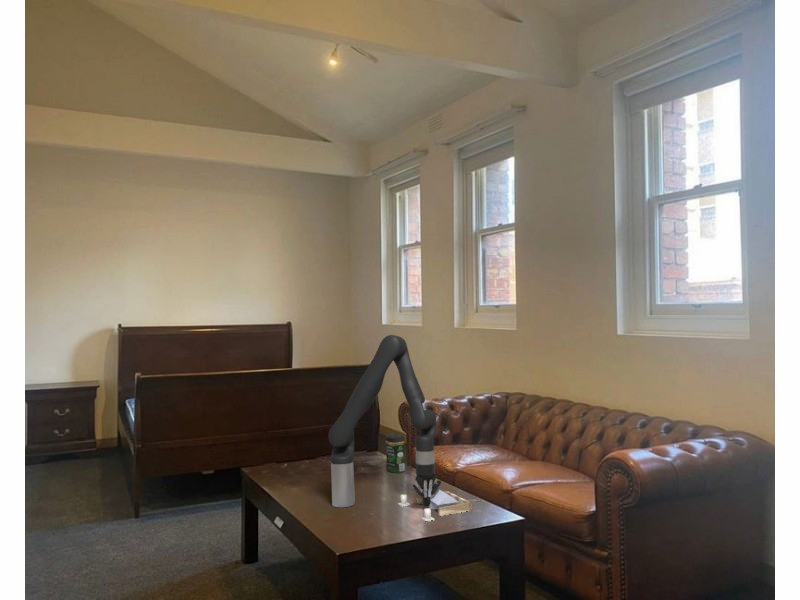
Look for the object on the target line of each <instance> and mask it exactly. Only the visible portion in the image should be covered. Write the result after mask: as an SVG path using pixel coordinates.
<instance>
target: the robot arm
mask: <svg viewBox="0 0 800 600" xmlns="http://www.w3.org/2000/svg"><path fill="white" fill-rule="evenodd" d="M409 353H410V352H409V349H408V345H407V342H406V340H405V339H404V338H403V337H401V336H398V335H395V334H390V335H386V336H385V337H384V338H383V339H382V340H381V342H380V343H379V345H378V347H377V350H376V353H375V354H374V356H373V358H372V361H371V362H370V363H369V365H368V367H367V368H366V369H365V372H364V373H363V375H362V376H361V378H360V379H359V381H358V383H357V385H356V386H355V388H354V389H353V392H352V394H351V396H350V397H349V399H348V401H347V403H346V405H345V407H344V409H343V411H342V412H341V414H340V416H339V417H338V418H337V420H336V421H335V422H334V423H333V425H332V426H331V428H329V431H328V436H327V437H328V441H329V444H330V445H332V450H331V451H332V452H331V455H330V472H331V475H330V476H331V477H330V478H331V506H333V507H336V508H347V507H352V506H354V505H355V504H356V502H355V500H356V499H355V469H354V468H355V467H354V456H355V430H354V429H355V428H356V426H357V424H358V422H359V421H360V420H361V418H362V417H363V416H364V414H365V413H366V412H367V411H368V410H369V408H370V407H371V406H372V404H373V403H374V401H375V400H376V398H377V396H378V395H379V393H380V392H381V389H382V386H383V384H384V383H383V382H384V379H385V375H386V373H387V371H388V369H389V368H390V365H391V364H392V363H393V362H394V364H395V367H396V368H397V370H398V374H399V380H400V385H401V389H402V392H403V394H404V397H405V399H406V402H407V404H408V410H409V417H410V421H411V423H412V425H413V427H414V428H415V429H417V430H420V431H419V434H418V435H417V436H416V437H415V475H416V476H415V479H414V480H415V481H414V482H412V483H410V488H411V489H413V491H414V492H415V493H416V494H417V496H421V497H422V505H423V507H425V508H429V507H428V506H429V505H430V496H431V495H434V494H435V493H436V492H437V491H438V490H439V487H440V486H441V484H442V481H441V480H439V479H437V476H436V455H435V444H434V443H435V442H434V441H435V434H436V429H437V416H436V414H435V412H434V411H433V410H432V409H424V405H423V404H424V403H425V401H426V398H425V395H424V393H423V390H422V388H421V386H420V383H419V381H418V378H417V376H416V373H415V370H414V368H413V365H412V361H411V358H410V354H409Z"/></svg>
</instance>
